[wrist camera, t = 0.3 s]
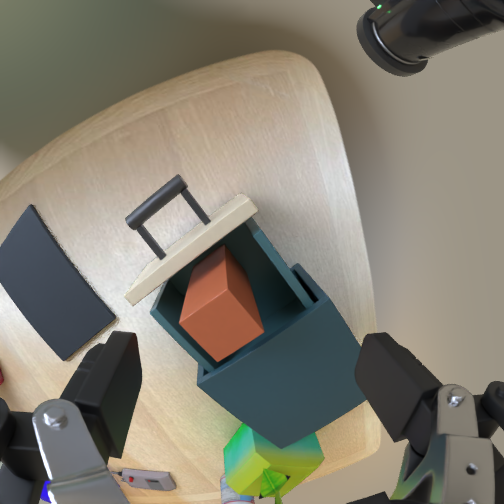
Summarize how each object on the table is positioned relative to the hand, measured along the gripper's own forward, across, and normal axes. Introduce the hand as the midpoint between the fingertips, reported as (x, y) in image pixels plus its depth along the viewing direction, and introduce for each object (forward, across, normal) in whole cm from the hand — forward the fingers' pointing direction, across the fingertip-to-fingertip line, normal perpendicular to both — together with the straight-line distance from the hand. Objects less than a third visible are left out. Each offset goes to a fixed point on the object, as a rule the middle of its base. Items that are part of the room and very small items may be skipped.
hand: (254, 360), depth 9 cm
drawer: (+21, +1, +3) cm, 22 cm away
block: (+20, +1, +4) cm, 21 cm away
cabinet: (+22, -7, +13) cm, 27 cm away
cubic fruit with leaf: (+23, -7, +32) cm, 39 cm away
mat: (+22, +24, +8) cm, 34 cm away
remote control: (+23, +16, +51) cm, 58 cm away
